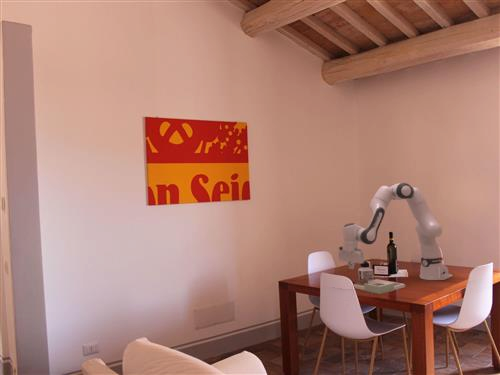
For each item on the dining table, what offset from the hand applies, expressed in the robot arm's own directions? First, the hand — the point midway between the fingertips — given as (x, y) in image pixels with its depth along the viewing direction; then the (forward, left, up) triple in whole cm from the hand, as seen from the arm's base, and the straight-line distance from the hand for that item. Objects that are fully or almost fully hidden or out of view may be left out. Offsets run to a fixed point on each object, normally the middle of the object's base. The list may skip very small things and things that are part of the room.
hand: (351, 268), depth 304 cm
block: (0, +9, -9) cm, 13 cm away
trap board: (-7, +16, -11) cm, 21 cm away
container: (-18, -5, -12) cm, 22 cm away
